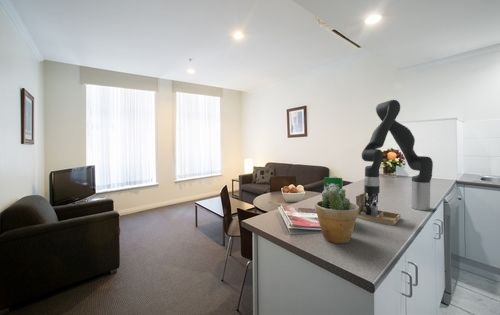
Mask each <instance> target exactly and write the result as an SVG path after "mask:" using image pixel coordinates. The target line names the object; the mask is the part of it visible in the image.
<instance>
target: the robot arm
mask: <svg viewBox="0 0 500 315" xmlns="http://www.w3.org/2000/svg"><path fill="white" fill-rule="evenodd" d="M400 111H401V104H400V102H399V101H398V100H397V99H390V100H386V101H384V102H381V103H379V104H377V105H376V107H375V112H376V115H377V116H378V117H379V119H380V120H381V123H380V124H378V126H376V128H375V129H374V131H373V132H372V134H371V137H370V140H369V142H368V143H367V144H366V146H365V147H364V149H363V150H362V151H361V159H362V160H363V161H364V162H369V163H370V162H371V165H367V166H365V168H364V182H363V183H364V184H363V185H364V186H363V188H364V189H363V191H364V192H365V193H366V196H365V207H367V214H369V215H371V207H372V205H373V206H377V205H378V203H379V194H380V188H381V187H380V182H381V181H380V168H381V165H382V162H383V160H384V153H383V151H382V150H381V148H382V147H383V146H384V145H385V141H386V138H387V136H388V133H390V134H391V136H392V137H393V140H394V141H395V142H396V144H397V146H398V147H399V149H400V150H401V152H402V154H403V156H404V159H405V161H406V162H407V165H408V167H409V168H410V169H411V170H412V171H419V172H418V174H417V175H414V176H412V177H411V209H414V210H419V211H430V209H431V182H432V181H431V180H432V178H433V170H434V169H433V168H434V163H433V162H434V161H433V159H432V158H431V157H429V156H419V155H418V154H417V153H416V151H415V149H414V146H415V141H416V140H415V137H414V135H413V133H412V131H411V129H409V127H407V126H405V125H404V124H402V123H400V122H399V121H397V120H396V118H397V117H398V115H399V114H400ZM364 192H363V193H364Z"/></svg>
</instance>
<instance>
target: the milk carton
mask: <svg viewBox="0 0 500 315" xmlns="http://www.w3.org/2000/svg"><path fill="white" fill-rule="evenodd" d="M331 184H335V185H337V186H338V188H339V191H340V189H343V178H342V177H338V176H335V175H334V176H333V175H331V176H329V177H327V176H325V177H323V191H325V190H327V191H329V190H328V189H329V188H328V187H329V185H331Z"/></svg>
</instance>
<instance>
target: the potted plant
mask: <svg viewBox="0 0 500 315" xmlns="http://www.w3.org/2000/svg"><path fill="white" fill-rule="evenodd" d="M328 188H329V189H328V190H329V191H327V190H325V191H324V190H323V191H322V192H321V199H322V200H319V201H316V202H315V203H314V207H315V208H314V209H315V214H316V215H317V220H318V223H319V224H318V225H319V227H320V231H321V233H322V234H321V235H322V236H323V238H324V239H325V240H326V241H327V242H330V243H334V244H346V243H349V242H350V241H351V238H352V234H353V232H354V228H355V224H356V221H357V219H358V218H357V217H358V212H359V206H358V205H356V203H355V202H351V201H350V199H349V198H347V197H346V189H344V188H342V189H340V191H339V188H338V186H337V185H335V184H331V185H329V187H328Z"/></svg>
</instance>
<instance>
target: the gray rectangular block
mask: <svg viewBox="0 0 500 315" xmlns="http://www.w3.org/2000/svg"><path fill="white" fill-rule="evenodd" d="M378 210H379V206H373V205H372V207H371V215H369V214H367V207H366V215H368V216H373V217H376V216H377V215H378Z"/></svg>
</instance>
